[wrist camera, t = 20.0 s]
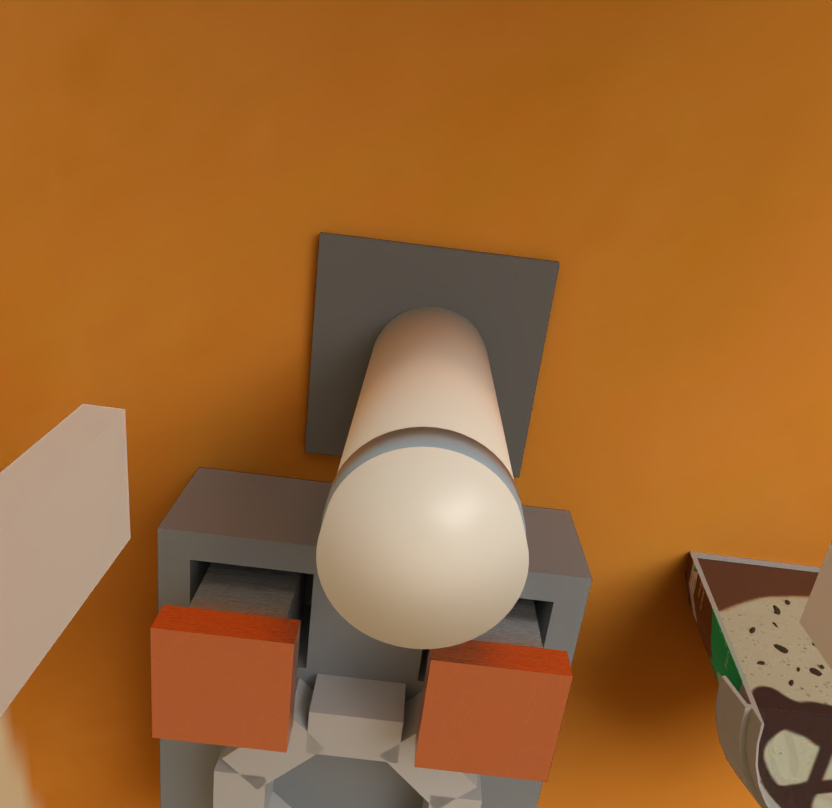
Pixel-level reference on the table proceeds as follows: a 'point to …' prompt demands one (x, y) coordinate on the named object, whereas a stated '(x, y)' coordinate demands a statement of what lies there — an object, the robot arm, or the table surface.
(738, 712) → the food container
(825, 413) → the table surface
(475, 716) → the plunger
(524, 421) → the mat
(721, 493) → the table surface
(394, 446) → the cartridge
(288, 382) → the table surface
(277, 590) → the plunger
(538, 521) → the housing
